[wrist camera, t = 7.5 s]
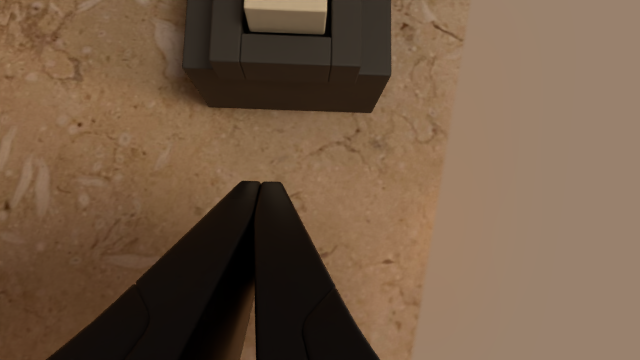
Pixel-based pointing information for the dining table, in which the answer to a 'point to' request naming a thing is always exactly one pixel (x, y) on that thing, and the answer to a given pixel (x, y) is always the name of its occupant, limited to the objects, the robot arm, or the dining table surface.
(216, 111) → the dining table surface
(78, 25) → the dining table surface
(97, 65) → the dining table surface
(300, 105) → the block low
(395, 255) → the dining table surface
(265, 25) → the key low
